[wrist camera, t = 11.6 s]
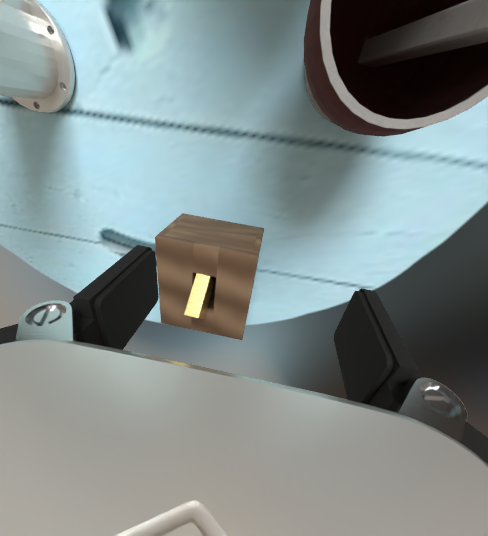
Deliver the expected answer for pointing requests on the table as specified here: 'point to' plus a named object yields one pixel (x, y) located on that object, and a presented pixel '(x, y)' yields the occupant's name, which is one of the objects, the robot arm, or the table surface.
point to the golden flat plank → (199, 296)
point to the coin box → (207, 272)
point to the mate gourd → (395, 62)
